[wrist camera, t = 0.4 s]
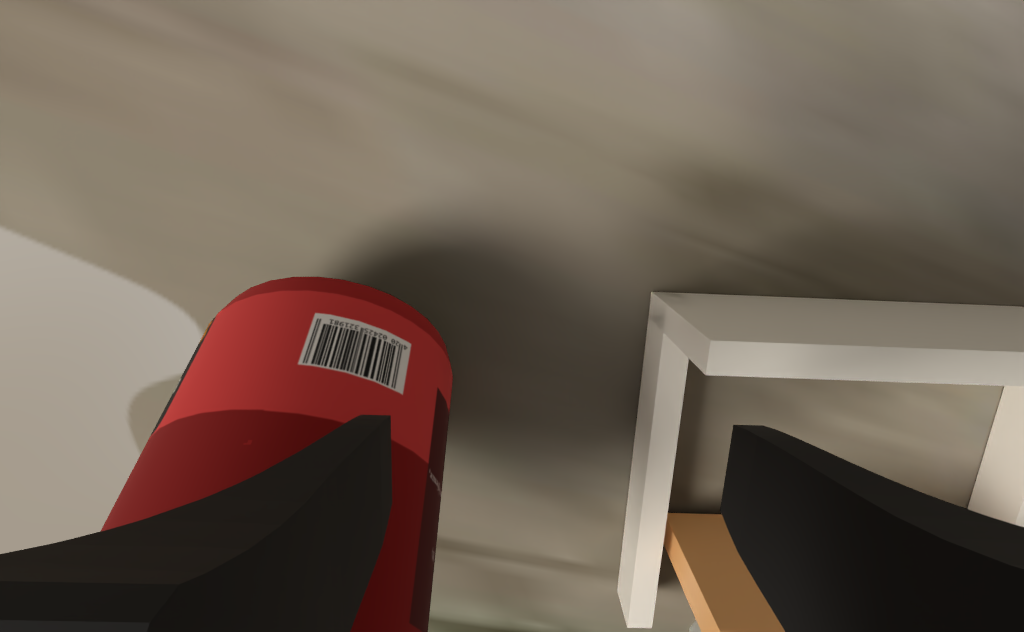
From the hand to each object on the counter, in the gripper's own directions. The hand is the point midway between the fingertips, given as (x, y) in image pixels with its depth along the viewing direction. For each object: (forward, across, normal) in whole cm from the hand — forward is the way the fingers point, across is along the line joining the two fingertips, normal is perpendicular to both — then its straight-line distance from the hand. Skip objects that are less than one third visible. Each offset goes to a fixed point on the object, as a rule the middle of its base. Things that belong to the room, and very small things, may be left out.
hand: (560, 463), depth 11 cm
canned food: (+8, +7, 0) cm, 10 cm away
